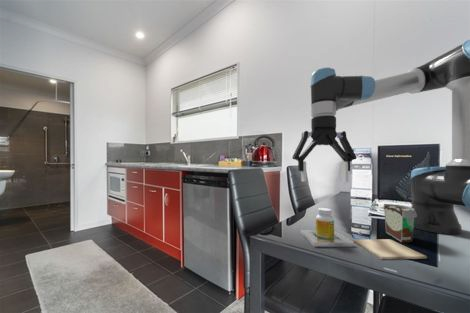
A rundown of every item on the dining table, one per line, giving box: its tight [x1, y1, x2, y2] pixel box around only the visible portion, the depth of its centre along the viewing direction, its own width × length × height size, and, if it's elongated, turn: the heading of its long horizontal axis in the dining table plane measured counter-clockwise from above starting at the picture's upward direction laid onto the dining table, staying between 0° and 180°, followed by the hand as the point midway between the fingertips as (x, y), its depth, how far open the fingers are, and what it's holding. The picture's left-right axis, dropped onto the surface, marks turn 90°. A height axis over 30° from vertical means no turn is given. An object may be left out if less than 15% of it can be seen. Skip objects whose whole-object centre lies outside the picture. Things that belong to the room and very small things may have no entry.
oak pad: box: [352, 238, 428, 260], centre depth 59 cm, size 12×12×1 cm
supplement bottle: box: [315, 207, 335, 240], centre depth 66 cm, size 5×5×10 cm
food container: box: [382, 203, 417, 243], centre depth 68 cm, size 12×6×10 cm, turn 168°
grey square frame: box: [299, 229, 356, 248], centre depth 66 cm, size 12×12×1 cm
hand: (324, 181), depth 67 cm, fingers open, 13 cm apart
